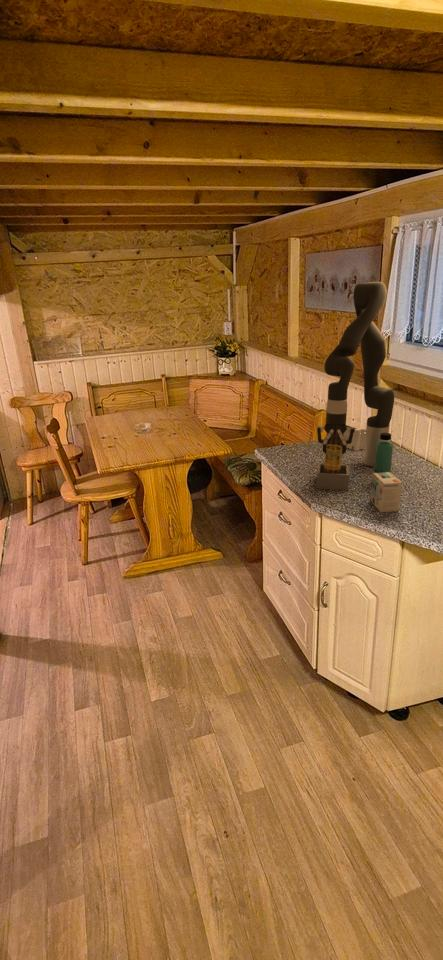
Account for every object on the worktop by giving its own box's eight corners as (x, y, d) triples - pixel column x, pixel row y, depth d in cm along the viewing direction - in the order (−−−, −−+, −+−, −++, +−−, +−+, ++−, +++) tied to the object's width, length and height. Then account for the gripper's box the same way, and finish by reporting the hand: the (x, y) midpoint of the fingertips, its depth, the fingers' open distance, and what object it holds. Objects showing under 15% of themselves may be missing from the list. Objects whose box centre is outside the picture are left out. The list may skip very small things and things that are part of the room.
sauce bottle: (322, 473, 198) (325, 423, 191) (325, 468, 204) (328, 419, 197) (339, 475, 196) (342, 425, 189) (342, 470, 201) (345, 421, 194)
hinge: (368, 450, 240) (370, 429, 237) (362, 452, 237) (363, 431, 233) (343, 444, 250) (344, 424, 246) (336, 446, 246) (338, 426, 243)
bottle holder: (347, 478, 206) (348, 464, 204) (348, 489, 195) (349, 475, 193) (317, 477, 208) (317, 463, 206) (316, 488, 197) (317, 473, 195)
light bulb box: (369, 500, 186) (372, 472, 182) (387, 499, 186) (390, 471, 182) (380, 512, 176) (383, 483, 172) (399, 511, 176) (402, 482, 172)
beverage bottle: (390, 480, 204) (395, 431, 196) (389, 486, 198) (394, 436, 191) (373, 478, 206) (377, 430, 198) (372, 484, 200) (376, 435, 193)
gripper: (355, 409, 193) (352, 451, 199) (317, 408, 196) (315, 449, 202) (356, 413, 186) (353, 457, 192) (316, 412, 189) (314, 455, 195)
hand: (333, 453), depth 197 cm, fingers closed on sauce bottle, 6 cm apart
